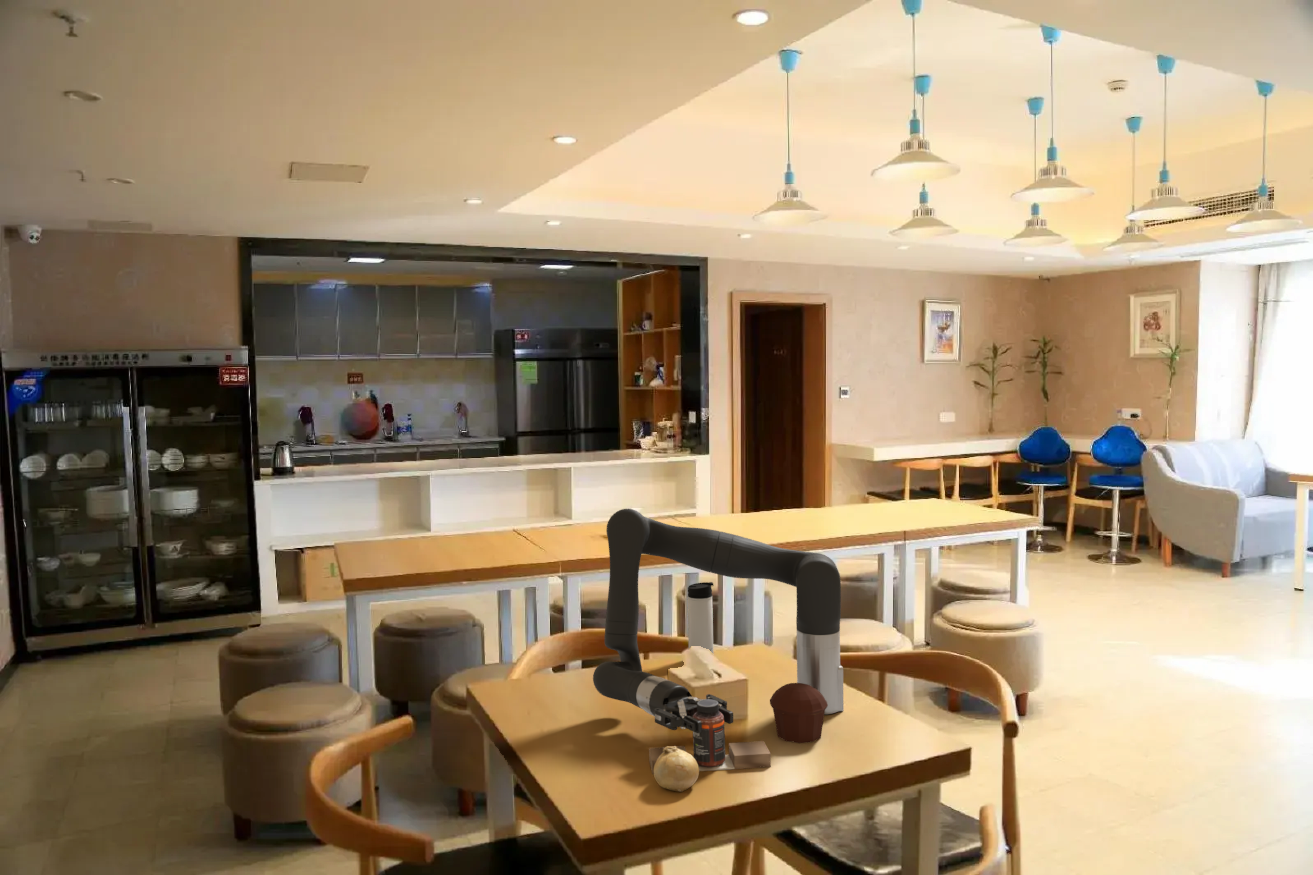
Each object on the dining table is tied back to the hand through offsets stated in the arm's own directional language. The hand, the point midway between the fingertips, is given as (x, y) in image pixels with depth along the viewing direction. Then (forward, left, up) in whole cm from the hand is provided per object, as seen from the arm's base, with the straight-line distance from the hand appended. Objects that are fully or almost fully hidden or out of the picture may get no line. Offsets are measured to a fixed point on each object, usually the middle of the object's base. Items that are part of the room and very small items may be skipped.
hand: (716, 722), depth 173 cm
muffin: (-19, -13, -9) cm, 25 cm away
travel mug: (-7, -65, -9) cm, 66 cm away
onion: (+8, +7, -9) cm, 14 cm away
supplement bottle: (+1, -2, -8) cm, 9 cm away
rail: (+1, -2, -8) cm, 9 cm away
